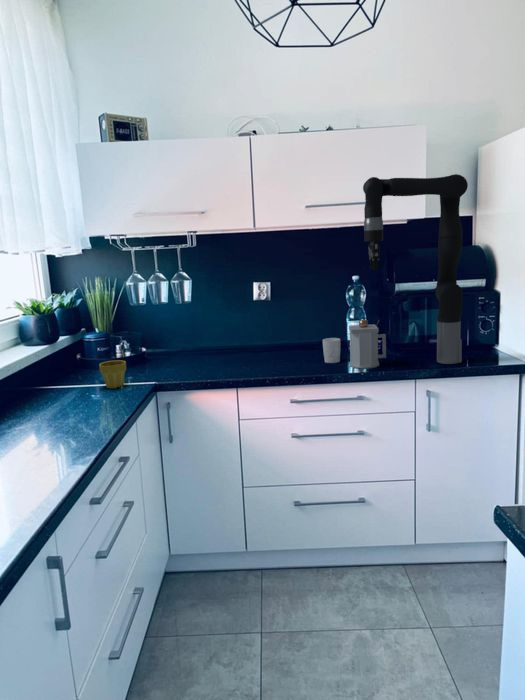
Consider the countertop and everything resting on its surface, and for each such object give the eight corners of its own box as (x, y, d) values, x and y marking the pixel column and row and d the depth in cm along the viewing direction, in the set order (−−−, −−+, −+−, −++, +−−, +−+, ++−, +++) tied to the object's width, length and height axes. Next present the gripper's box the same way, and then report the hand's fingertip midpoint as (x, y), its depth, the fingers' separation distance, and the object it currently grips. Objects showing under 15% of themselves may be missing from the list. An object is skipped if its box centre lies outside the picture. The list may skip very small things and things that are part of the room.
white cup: (344, 362, 241) (343, 339, 239) (328, 364, 238) (327, 341, 236) (335, 358, 248) (334, 337, 246) (320, 361, 245) (319, 339, 243)
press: (383, 361, 237) (383, 323, 234) (388, 367, 225) (387, 328, 222) (348, 362, 239) (347, 325, 235) (350, 369, 227) (349, 330, 223)
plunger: (373, 355, 236) (372, 318, 233) (376, 360, 227) (375, 321, 224) (352, 356, 236) (351, 319, 233) (354, 361, 227) (353, 322, 224)
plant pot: (118, 390, 215) (115, 366, 213) (96, 389, 219) (93, 365, 217) (133, 383, 225) (130, 360, 223) (112, 382, 228) (109, 359, 226)
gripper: (385, 228, 214) (386, 270, 217) (380, 229, 227) (381, 268, 231) (366, 229, 214) (367, 271, 217) (362, 230, 228) (363, 269, 231)
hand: (374, 269), depth 224 cm, fingers open, 8 cm apart
